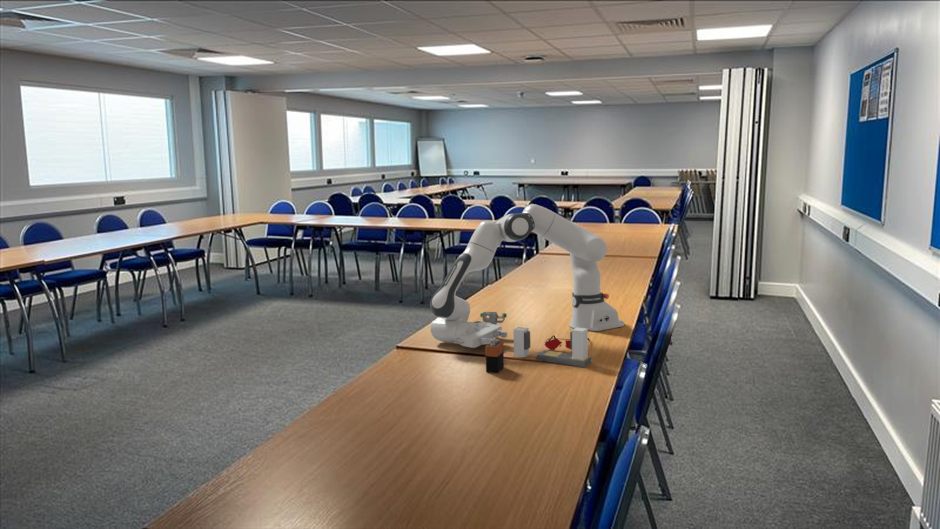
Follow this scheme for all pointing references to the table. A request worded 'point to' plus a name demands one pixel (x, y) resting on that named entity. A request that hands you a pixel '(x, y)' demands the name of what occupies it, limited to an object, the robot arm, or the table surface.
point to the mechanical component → (493, 317)
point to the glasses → (556, 343)
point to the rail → (562, 358)
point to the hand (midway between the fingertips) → (500, 338)
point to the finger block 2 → (579, 343)
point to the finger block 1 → (521, 341)
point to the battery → (494, 356)
